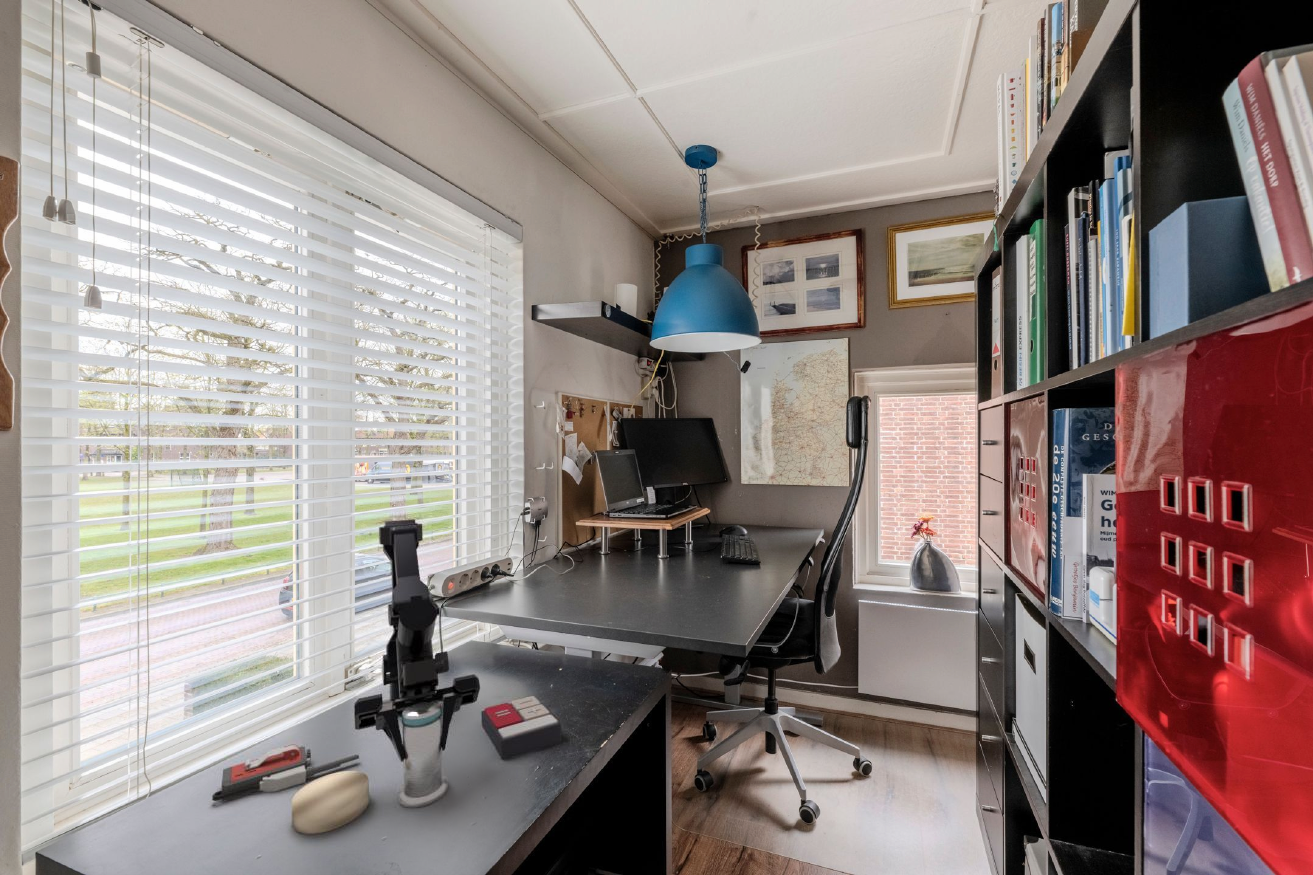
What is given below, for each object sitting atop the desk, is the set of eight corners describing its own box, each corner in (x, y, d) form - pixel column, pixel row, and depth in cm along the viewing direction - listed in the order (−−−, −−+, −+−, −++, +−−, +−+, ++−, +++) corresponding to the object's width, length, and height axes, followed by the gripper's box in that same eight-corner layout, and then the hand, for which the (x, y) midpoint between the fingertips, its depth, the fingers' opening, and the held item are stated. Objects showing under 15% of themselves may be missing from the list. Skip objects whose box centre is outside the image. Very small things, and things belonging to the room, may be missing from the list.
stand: (279, 817, 82) (279, 796, 82) (348, 782, 90) (348, 763, 90) (311, 843, 76) (311, 821, 76) (382, 803, 84) (381, 783, 84)
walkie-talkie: (211, 815, 83) (360, 767, 95) (210, 786, 83) (359, 741, 95) (214, 787, 90) (353, 745, 102) (214, 760, 90) (352, 721, 102)
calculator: (534, 692, 114) (561, 718, 101) (535, 714, 114) (562, 743, 101) (480, 706, 108) (501, 736, 96) (481, 729, 108) (502, 761, 95)
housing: (388, 797, 86) (387, 713, 86) (430, 774, 92) (429, 695, 92) (415, 813, 82) (413, 725, 82) (457, 788, 88) (455, 706, 88)
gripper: (353, 648, 86) (354, 753, 76) (476, 626, 95) (491, 718, 85) (354, 680, 93) (355, 780, 83) (469, 657, 102) (482, 745, 92)
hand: (423, 755), depth 86 cm, fingers closed on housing, 6 cm apart
